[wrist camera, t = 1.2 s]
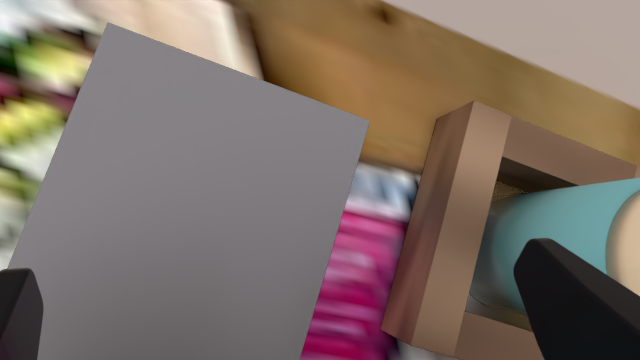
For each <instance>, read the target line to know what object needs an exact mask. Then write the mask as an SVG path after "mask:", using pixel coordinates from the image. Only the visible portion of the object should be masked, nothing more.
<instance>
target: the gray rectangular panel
mask: <svg viewBox="0 0 640 360" xmlns="http://www.w3.org/2000/svg"><path fill="white" fill-rule="evenodd" d="M369 122H370V121H369V120H367V119H364V118H361V117H359V116H356V115H353V114H351V113H348V112H345V111H343V110H340V109H337V108H335V107H332V106H329V105H327V104H324V103H321V102H319V101H316V100H313V99H311V98H308V97H305V96H303V95H300V94H297V93H295V92H292V91H289V90H287V89H284V88H281V87H279V86H276V85H273V84H271V83H268V82H265V81H263V80H260V79H257V78H255V77H252V76H249V75H247V74H244V73H241V72H239V71H236V70H233V69H231V68H228V67H225V66H223V65H220V64H217V63H215V62H212V61H209V60H207V59H204V58H201V57H199V56H196V55H193V54H191V53H188V52H185V51H183V50H180V49H177V48H175V47H172V46H169V45H167V44H164V43H161V42H159V41H156V40H153V39H151V38H148V37H145V36H143V35H140V34H137V33H135V32H132V31H129V30H127V29H124V28H121V27H119V26H116V25H113V24H111V23H107V25H106V28H105V30H104V32H103V35H102V37H101V40H100V42H99V45H98V47H97V50H96V52H95V55H94V57H93V59H92V62H91V64H90V67H89V69H88V72H87V74H86V77H85V79H84V82H83V84H82V86H81V89H80V91H79V94H78V96H77V99H76V101H75V104H74V106H73V109H72V111H71V113H70V116H69V118H68V121H67V123H66V126H65V128H64V131H63V133H62V136H61V138H60V140H59V143H58V145H57V148H56V150H55V153H54V155H53V158H52V160H51V163H50V165H49V167H48V170H47V172H46V175H45V177H44V180H43V182H42V185H41V187H40V190H39V192H38V194H37V197H36V199H35V202H34V204H33V207H32V209H31V212H30V214H29V217H28V219H27V221H26V224H25V226H24V229H23V231H22V234H21V236H20V239H19V241H18V244H17V246H16V248H15V251H14V253H13V256H12V258H11V261H10V263H9V266H8V268H7V269H12V268H30V269H32V271H33V272H34V274H35V277H36V280H37V283H38V287H39V290H40V293H41V296H42V299H43V306H44V311H43V320H42V328H41V335H40V343H39V350H38V358H37V360H300V357H301V353H302V350H303V346H304V343H305V340H306V336H307V333H308V329H309V326H310V323H311V319H312V316H313V312H314V309H315V306H316V302H317V299H318V295H319V292H320V289H321V285H322V282H323V278H324V275H325V272H326V268H327V265H328V261H329V258H330V255H331V251H332V248H333V244H334V241H335V238H336V234H337V231H338V227H339V224H340V221H341V217H342V214H343V210H344V207H345V204H346V200H347V197H348V194H349V190H350V187H351V183H352V180H353V177H354V173H355V170H356V166H357V163H358V160H359V156H360V153H361V149H362V146H363V143H364V139H365V136H366V132H367V129H368V126H369Z"/></svg>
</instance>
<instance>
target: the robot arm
mask: <svg viewBox="0 0 640 360" xmlns="http://www.w3.org/2000/svg"><path fill="white" fill-rule="evenodd" d="M513 275H514V279H515V282H516V285H517V288H518V291H519V294H520V297H521V299H522V302H523V305H524V308H525V311H526V314H527V317H528V319H529V322H530V325H531V328H532V331H533V334H534V336H535V339H536V342H537V344H538V347H539V349H540V351H541V354H542V356H543V358H544V360H640V296H639V295H637V294H636V293H634V292H633V291H631V290H630V289H628V288H627V287H625V286H624V285H622V284H620V283H619V282H617V281H616V280H614V279H613V278H611V277H610V276H608V275H607V274H605V273H604V272H602V271H600V270H599V269H597V268H596V267H594V266H593V265H591V264H590V263H588V262H587V261H585V260H584V259H582V258H580V257H579V256H577V255H576V254H574V253H573V252H571V251H570V250H568V249H567V248H565V247H564V246H562V245H560V244H559V243H557V242H556V241H554V240H553V239H550V238H533V239H530V240H529V241H527V243H526V244H525V246H524V248H523V250H522V251H521V253H520V255H519V257H518V259H517V261H516V262H515V264H514V268H513ZM43 311H44V306H43V299H42V296H41V293H40V290H39V287H38V283H37V280H36V277H35V274H34V272H33V271H32V269H30V268H12V269H4V270H2V271H0V360H37V358H38V350H39V343H40V335H41V328H42V320H43Z"/></svg>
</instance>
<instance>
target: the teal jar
mask: <svg viewBox="0 0 640 360" xmlns="http://www.w3.org/2000/svg"><path fill="white" fill-rule="evenodd" d="M533 238H550V239H553V240H554V241H556V242H557V243H559V244H560V245H562V246H564V247H565V248H567V249H568V250H570V251H571V252H573V253H574V254H576V255H577V256H579V257H580V258H582V259H584V260H585V261H587V262H588V263H590V264H591V265H593V266H594V267H596V268H597V269H599V270H600V271H602V272H604V273H605V274H607V275H608V276H610V277H611V278H613V279H614V280H616V281H617V282H619V283H620V284H622V285H624V286H625V287H627V288H628V289H630V290H631V291H633V292H634V293H636V294H637V295H639V296H640V178H634V179H626V180H619V181H612V182H604V183H597V184H589V185H582V186H574V187H567V188H559V189H552V190H544V191H537V192H529V193H522V194H515V195H507V196H500V197H493V198H492V199H491V203H490V207H489V212H488V216H487V220H486V224H485V228H484V232H483V236H482V241H481V245H480V249H479V253H478V257H477V261H476V265H475V269H474V274H473V278H472V282H471V286H470V290H469V293H470V294H471V295H472V296H473V297H474V298H475V299H476V300H478V301H479V302H481V303H483V304H484V305H487V306H489V307H492V308H496V309H500V310H504V311H509V312H513V313H517V314H521V315H525V316H527V314H526V311H525V308H524V305H523V302H522V299H521V297H520V294H519V291H518V288H517V285H516V282H515V279H514V275H513V268H514V264H515V262H516V261H517V259H518V257H519V255H520V253H521V251H522V250H523V248H524V246H525V244H526V243H527V241H529V240H530V239H533Z"/></svg>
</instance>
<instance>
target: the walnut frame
mask: <svg viewBox="0 0 640 360" xmlns="http://www.w3.org/2000/svg"><path fill="white" fill-rule="evenodd" d="M634 178H640V167H638V166H636V165H633V164H631V163H628V162H626V161H623V160H621V159H618V158H616V157H613V156H611V155H608V154H606V153H603V152H601V151H598V150H596V149H593V148H591V147H588V146H586V145H583V144H581V143H578V142H576V141H573V140H571V139H568V138H566V137H563V136H561V135H558V134H556V133H553V132H551V131H549V130H546V129H544V128H541V127H539V126H536V125H534V124H531V123H529V122H526V121H524V120H521V119H519V118H516V117H514V116H511V115H509V114H506V113H504V112H501V111H499V110H496V109H494V108H491V107H489V106H486V105H484V104H481V103H479V102H476V101H472V102H470V103H468V104H466V105H464V106H462V107H460V108H458V109H456V110H454V111H452V112H450V113H448V114H446V115H444V116H442V117H440V118H438V119H437V121H436V124H435V128H434V132H433V136H432V139H431V143H430V147H429V150H428V154H427V158H426V162H425V165H424V169H423V173H422V176H421V180H420V184H419V187H418V191H417V195H416V199H415V202H414V206H413V210H412V213H411V217H410V221H409V225H408V228H407V232H406V236H405V239H404V243H403V247H402V251H401V254H400V258H399V262H398V265H397V269H396V273H395V277H394V280H393V284H392V288H391V291H390V295H389V299H388V302H387V306H386V310H385V314H384V317H383V321H382V325H381V328H380V330H382V331H384V332H386V333H388V334H390V335H392V336H394V337H396V338H398V339H400V340H402V341H403V342H405V343H407V344H409V345H411V346H415V347H418V348H422V349H425V350H429V351H432V352H436V353H439V354H443V355H446V356H450V357H453V358H457V359H460V360H544V358H543V356H542V354H541V351H540V349H539V347H538V344H537V342H536V339H535V336H534V334H533V332H531V331H527V330H524V329H521V328H518V327H515V326H511V325H508V324H505V323H502V322H498V321H495V320H492V319H489V318H485V317H482V316H479V315H476V314H472V313H469V312H466V311H465V307H466V303H467V298H468V294H469V290H470V286H471V282H472V278H473V274H474V269H475V265H476V261H477V257H478V253H479V249H480V245H481V241H482V236H483V232H484V228H485V224H486V220H487V216H488V212H489V207H490V203H491V199H492V195H493V191H494V187H495V183H496V180H498V181H501V182H504V183H506V184H509V185H512V186H514V187H517V188H520V189H523V190H525V191H528V192H537V191H544V190H552V189H559V188H567V187H574V186H582V185H589V184H597V183H604V182H612V181H619V180H626V179H634Z"/></svg>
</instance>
